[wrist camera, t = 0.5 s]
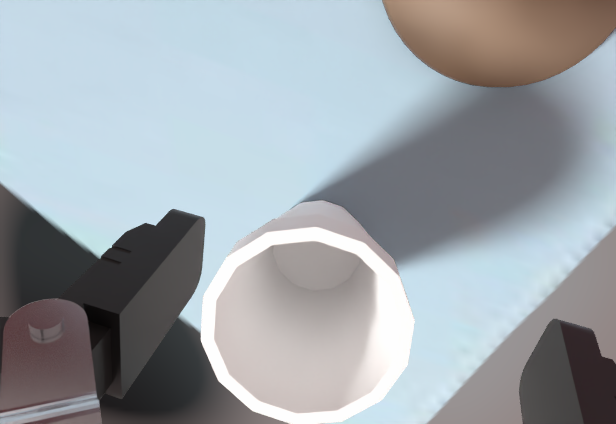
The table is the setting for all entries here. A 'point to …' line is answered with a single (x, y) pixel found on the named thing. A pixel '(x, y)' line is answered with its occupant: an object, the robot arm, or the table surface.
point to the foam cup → (308, 318)
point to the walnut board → (501, 36)
